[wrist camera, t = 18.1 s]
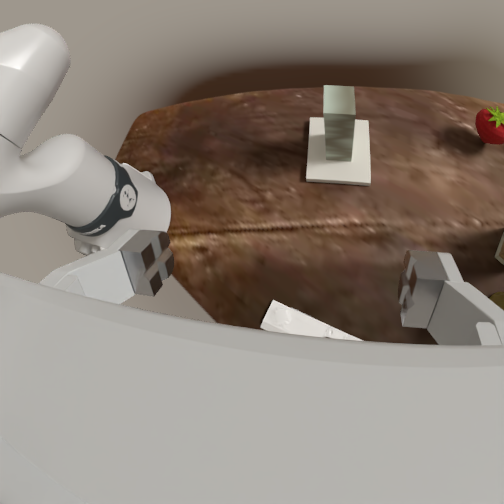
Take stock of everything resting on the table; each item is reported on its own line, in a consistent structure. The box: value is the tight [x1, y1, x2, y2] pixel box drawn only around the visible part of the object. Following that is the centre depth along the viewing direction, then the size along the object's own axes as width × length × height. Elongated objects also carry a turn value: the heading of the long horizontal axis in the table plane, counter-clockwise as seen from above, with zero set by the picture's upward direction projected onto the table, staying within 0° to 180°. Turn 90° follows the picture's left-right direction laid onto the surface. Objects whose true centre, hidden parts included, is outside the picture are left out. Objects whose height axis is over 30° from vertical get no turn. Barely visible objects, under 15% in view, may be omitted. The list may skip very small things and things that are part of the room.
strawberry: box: [475, 106, 504, 144], centre depth 37 cm, size 6×8×10 cm
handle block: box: [324, 85, 355, 161], centre depth 41 cm, size 4×5×12 cm
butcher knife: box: [261, 300, 363, 341], centre depth 42 cm, size 5×15×1 cm, turn 64°
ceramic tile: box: [306, 117, 371, 186], centre depth 47 cm, size 10×12×1 cm
